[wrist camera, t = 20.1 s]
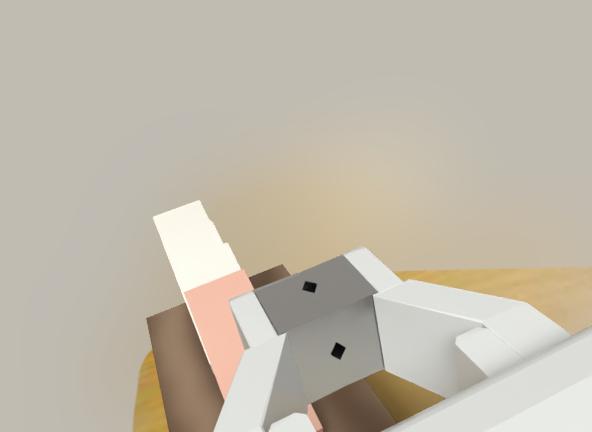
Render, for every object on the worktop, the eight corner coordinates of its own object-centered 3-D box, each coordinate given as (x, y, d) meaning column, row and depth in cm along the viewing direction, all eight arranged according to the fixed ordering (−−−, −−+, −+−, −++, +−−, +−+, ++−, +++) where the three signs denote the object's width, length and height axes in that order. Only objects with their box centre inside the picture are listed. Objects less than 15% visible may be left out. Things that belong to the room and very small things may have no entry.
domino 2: (297, 386, 37) (230, 253, 46) (296, 376, 36) (227, 242, 45) (233, 417, 36) (177, 274, 45) (229, 408, 35) (172, 263, 44)
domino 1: (251, 311, 46) (202, 210, 55) (249, 301, 45) (199, 199, 53) (198, 334, 44) (156, 227, 53) (195, 324, 43) (152, 216, 52)
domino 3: (271, 347, 41) (214, 231, 50) (269, 337, 40) (211, 220, 49) (213, 373, 40) (165, 250, 49) (209, 364, 39) (161, 239, 48)
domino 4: (323, 437, 33) (246, 280, 42) (322, 427, 32) (243, 268, 41) (251, 473, 32) (188, 303, 41) (248, 464, 31) (183, 292, 40)
